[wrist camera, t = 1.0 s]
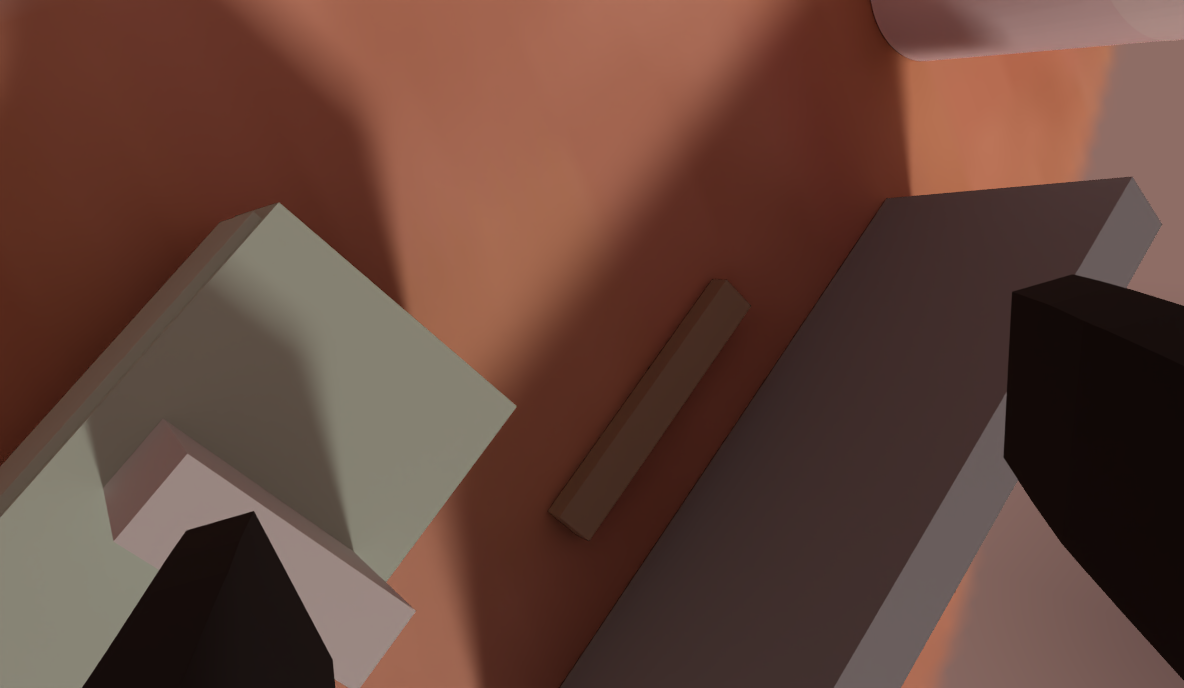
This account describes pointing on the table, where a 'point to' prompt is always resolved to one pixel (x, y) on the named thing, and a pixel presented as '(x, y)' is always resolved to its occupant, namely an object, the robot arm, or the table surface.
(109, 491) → the grey block
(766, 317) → the table surface
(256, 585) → the robot arm
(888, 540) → the wall board
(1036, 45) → the smoothie
